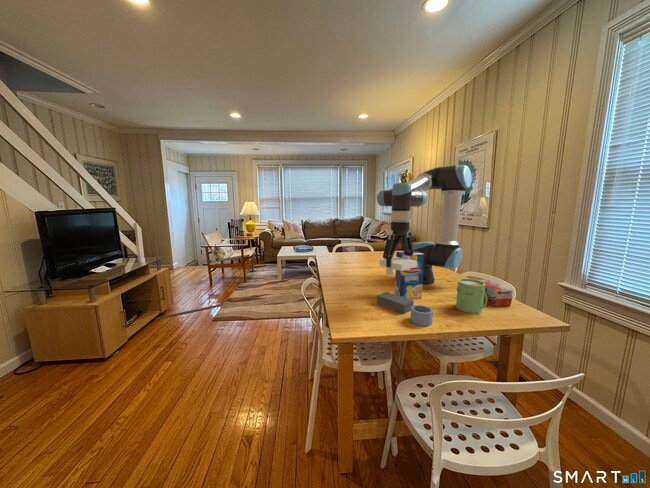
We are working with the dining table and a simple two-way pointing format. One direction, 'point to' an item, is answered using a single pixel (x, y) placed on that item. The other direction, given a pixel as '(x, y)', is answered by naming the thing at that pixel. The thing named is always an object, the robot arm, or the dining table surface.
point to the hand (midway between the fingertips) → (397, 272)
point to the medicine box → (497, 294)
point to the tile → (400, 263)
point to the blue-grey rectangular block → (395, 302)
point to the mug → (470, 295)
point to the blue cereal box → (410, 278)
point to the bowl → (421, 315)
